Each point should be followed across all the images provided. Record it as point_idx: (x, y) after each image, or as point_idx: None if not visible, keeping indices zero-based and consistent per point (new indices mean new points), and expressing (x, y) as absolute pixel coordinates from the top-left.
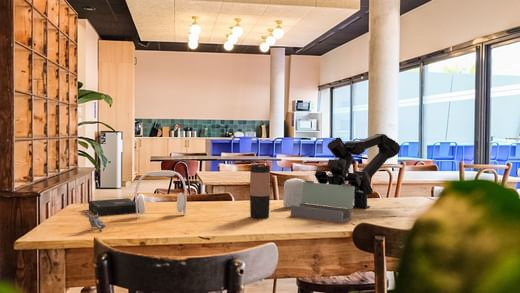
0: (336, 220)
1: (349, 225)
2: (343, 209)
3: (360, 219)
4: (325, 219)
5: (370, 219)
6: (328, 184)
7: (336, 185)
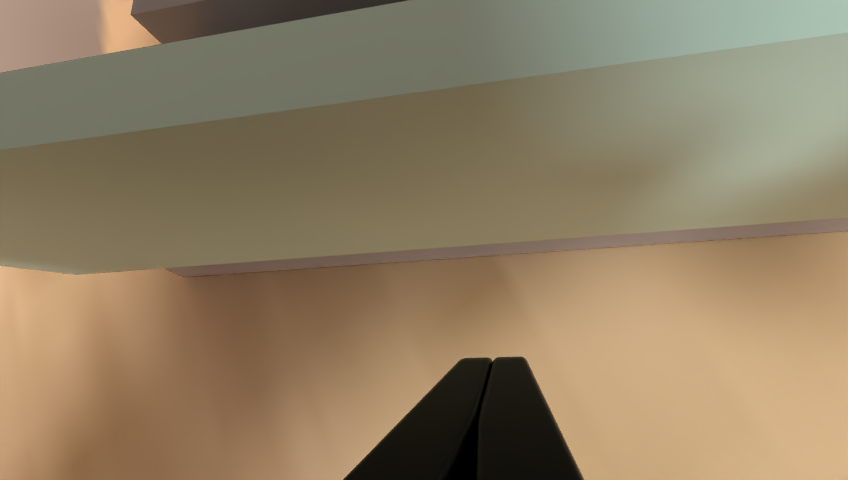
0: None
1: (126, 23)
2: None
3: (97, 357)
4: None
5: (3, 436)
6: (361, 14)
7: (42, 78)
